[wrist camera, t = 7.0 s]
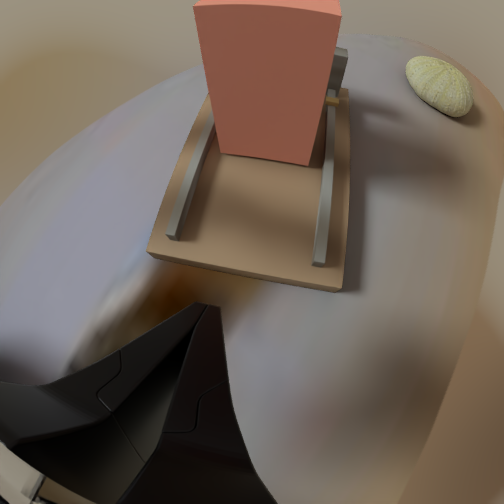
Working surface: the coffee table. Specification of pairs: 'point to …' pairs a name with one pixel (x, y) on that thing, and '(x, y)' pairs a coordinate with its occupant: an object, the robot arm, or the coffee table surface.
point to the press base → (262, 203)
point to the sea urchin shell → (440, 85)
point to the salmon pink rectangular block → (267, 72)
